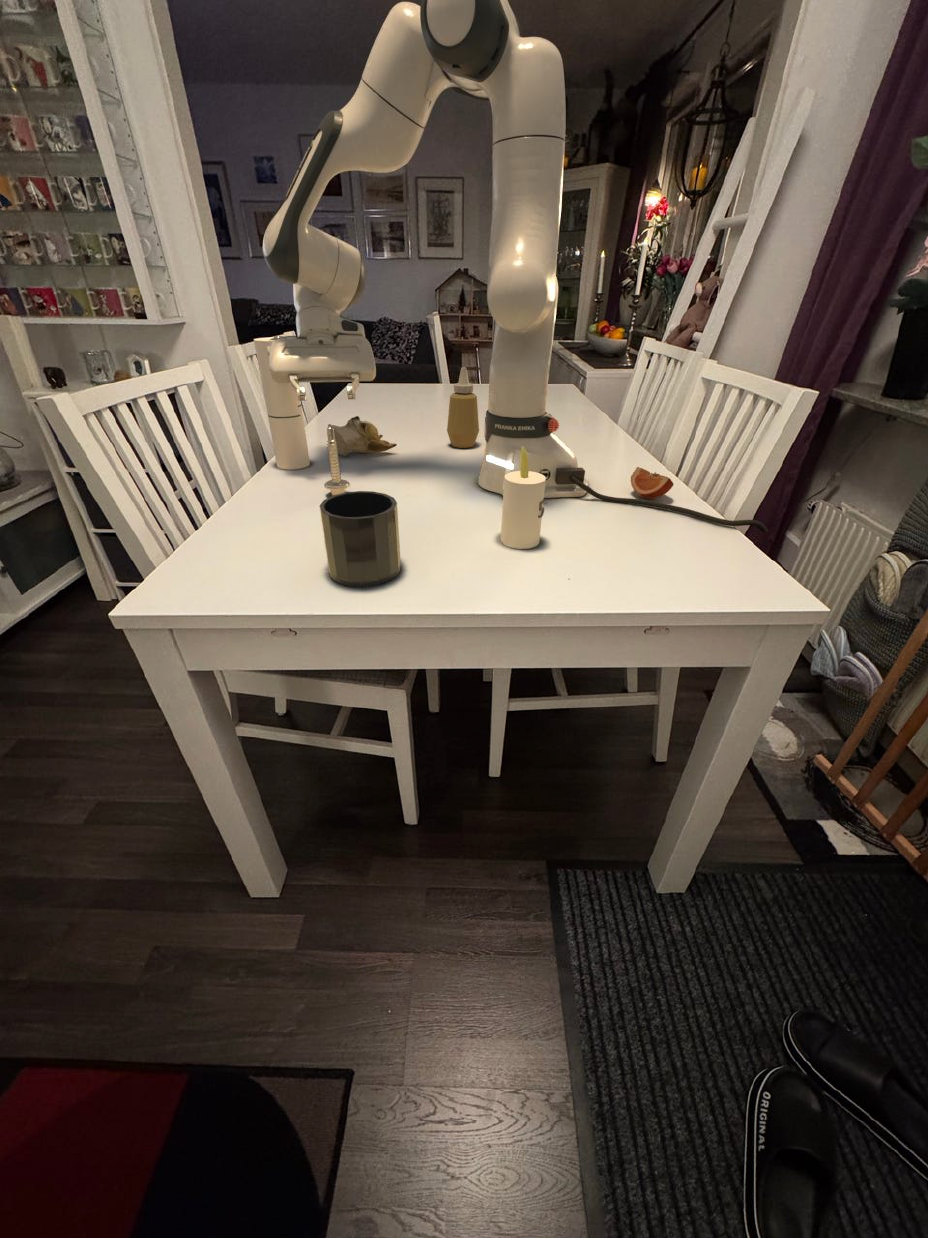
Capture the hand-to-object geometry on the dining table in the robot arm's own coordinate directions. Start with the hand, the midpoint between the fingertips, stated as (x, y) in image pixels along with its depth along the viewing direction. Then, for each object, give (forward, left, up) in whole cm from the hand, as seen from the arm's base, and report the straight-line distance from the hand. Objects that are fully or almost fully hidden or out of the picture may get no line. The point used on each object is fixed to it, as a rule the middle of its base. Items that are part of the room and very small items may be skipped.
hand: (327, 398), depth 101 cm
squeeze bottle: (-25, -28, -16) cm, 41 cm away
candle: (-38, +28, -16) cm, 50 cm away
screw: (-3, +10, -16) cm, 19 cm away
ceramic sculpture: (-1, -19, -16) cm, 25 cm away
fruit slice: (-64, +5, -16) cm, 66 cm away
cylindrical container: (+12, -8, -16) cm, 22 cm away
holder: (-15, +40, -16) cm, 45 cm away
